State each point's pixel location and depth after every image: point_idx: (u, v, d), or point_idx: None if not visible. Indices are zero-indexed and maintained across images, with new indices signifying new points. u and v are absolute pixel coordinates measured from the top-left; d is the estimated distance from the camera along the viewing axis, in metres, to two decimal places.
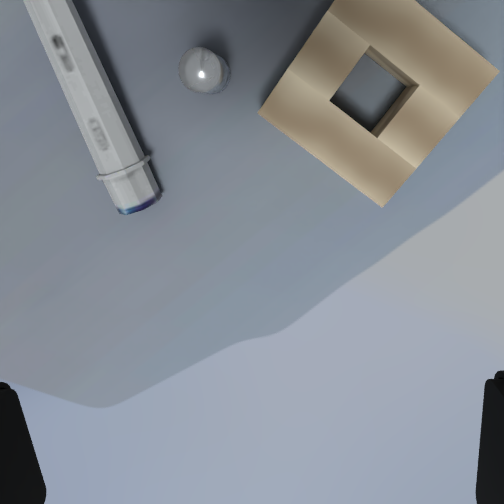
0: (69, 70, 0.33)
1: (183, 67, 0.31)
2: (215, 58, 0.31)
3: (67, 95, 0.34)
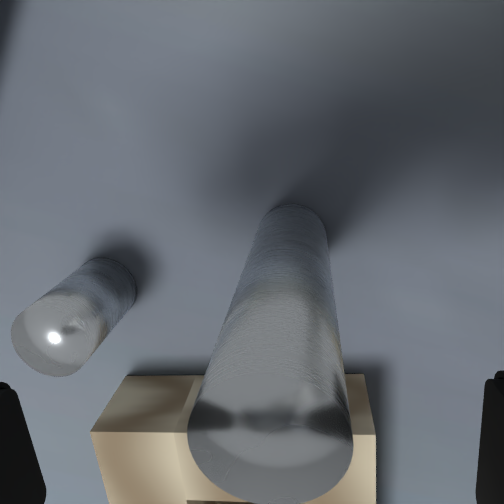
0: None
1: (29, 318, 0.16)
2: (84, 354, 0.16)
3: None
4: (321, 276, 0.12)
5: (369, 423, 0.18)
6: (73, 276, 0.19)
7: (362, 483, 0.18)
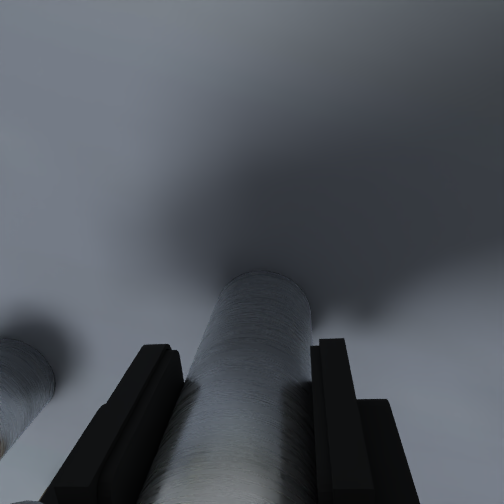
0: None
1: None
2: None
3: None
4: (297, 453, 0.07)
5: None
6: None
7: None
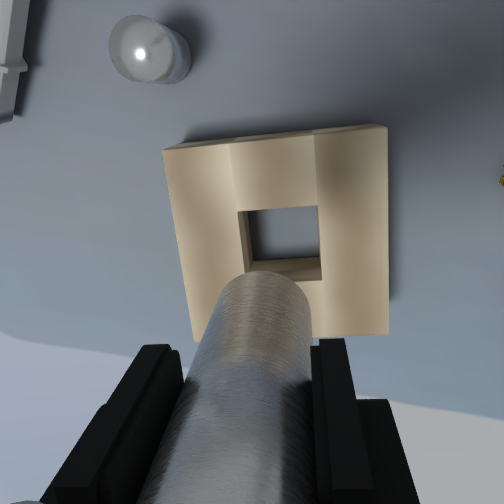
0: None
1: (124, 27, 0.21)
2: (165, 57, 0.22)
3: None
4: (297, 453, 0.07)
5: (382, 127, 0.23)
6: None
7: (377, 177, 0.23)
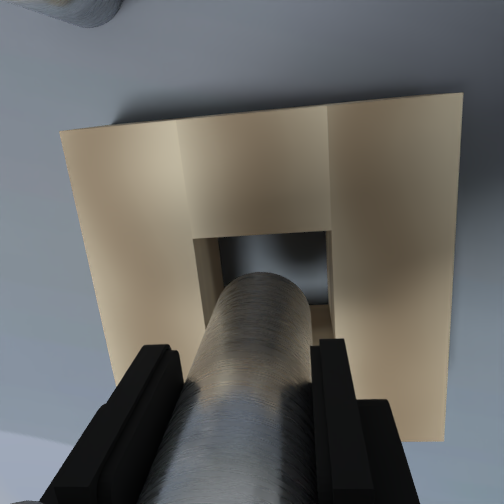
0: None
1: None
2: None
3: None
4: (297, 455, 0.07)
5: (449, 93, 0.13)
6: None
7: (438, 183, 0.13)
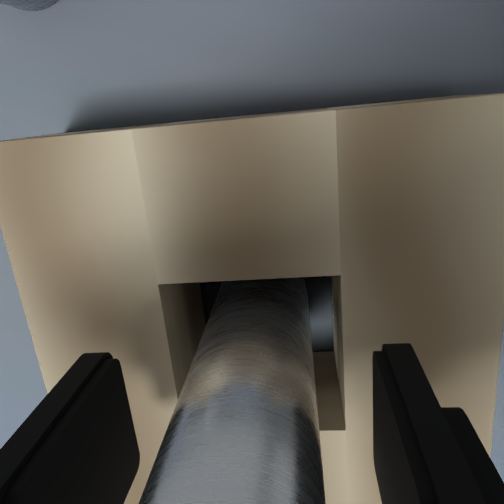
0: None
1: None
2: None
3: None
4: (298, 393, 0.08)
5: (502, 93, 0.09)
6: None
7: (486, 215, 0.10)
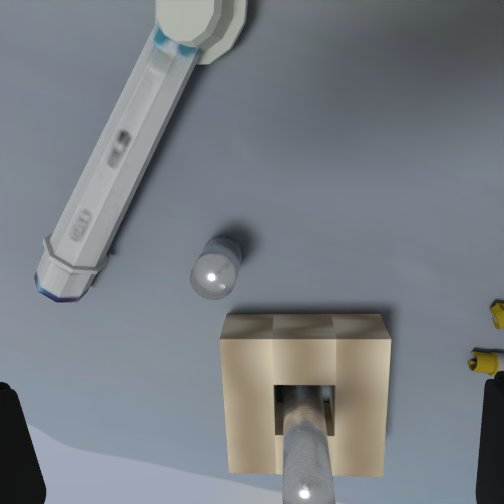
0: (109, 165, 0.28)
1: (203, 264, 0.29)
2: (232, 286, 0.29)
3: (87, 170, 0.29)
4: (322, 425, 0.30)
5: (386, 334, 0.31)
6: (215, 244, 0.31)
7: (381, 370, 0.31)
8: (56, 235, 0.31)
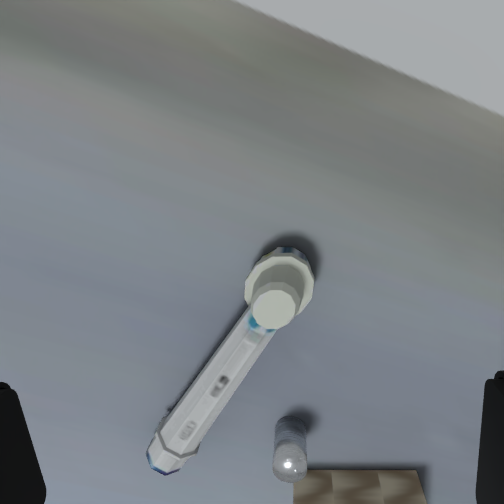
0: (212, 395, 0.37)
1: (283, 459, 0.38)
2: (305, 473, 0.38)
3: (193, 394, 0.38)
4: None
5: (423, 499, 0.40)
6: (287, 432, 0.41)
7: None
8: (166, 432, 0.40)
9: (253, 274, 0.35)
